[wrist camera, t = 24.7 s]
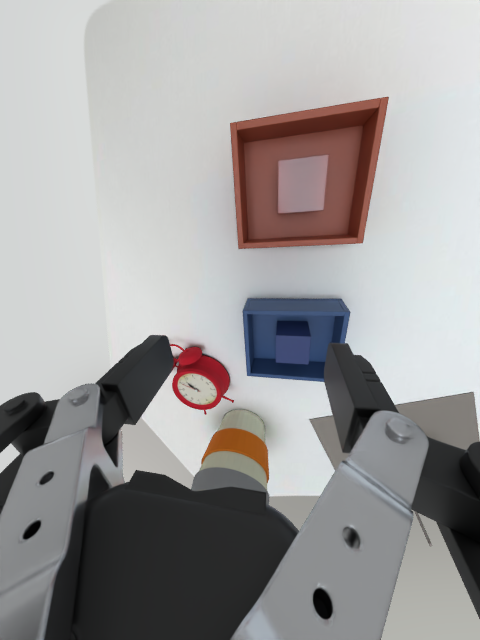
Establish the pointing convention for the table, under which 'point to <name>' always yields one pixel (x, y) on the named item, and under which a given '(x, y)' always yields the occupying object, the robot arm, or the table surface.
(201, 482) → the reusable coffee cup
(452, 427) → the architectural model
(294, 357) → the navy block
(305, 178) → the red block
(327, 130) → the terracotta bin
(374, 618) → the robot arm
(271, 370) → the blue bin
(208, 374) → the alarm clock
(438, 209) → the table surface
